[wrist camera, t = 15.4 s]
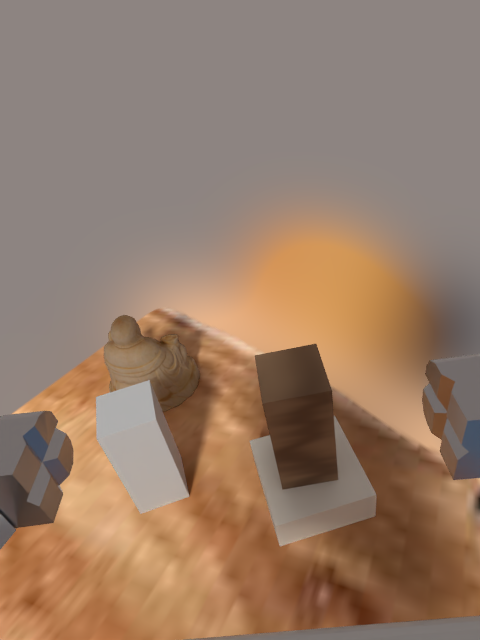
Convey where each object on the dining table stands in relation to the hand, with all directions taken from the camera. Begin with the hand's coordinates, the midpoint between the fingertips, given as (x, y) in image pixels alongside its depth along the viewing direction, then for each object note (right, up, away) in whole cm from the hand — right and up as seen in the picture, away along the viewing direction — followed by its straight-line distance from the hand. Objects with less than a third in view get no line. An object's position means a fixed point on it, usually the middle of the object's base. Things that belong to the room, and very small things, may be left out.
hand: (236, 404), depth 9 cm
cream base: (+7, -15, +33) cm, 37 cm away
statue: (-11, -7, +48) cm, 50 cm away
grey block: (-8, -15, +35) cm, 39 cm away
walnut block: (+6, -11, +31) cm, 33 cm away
